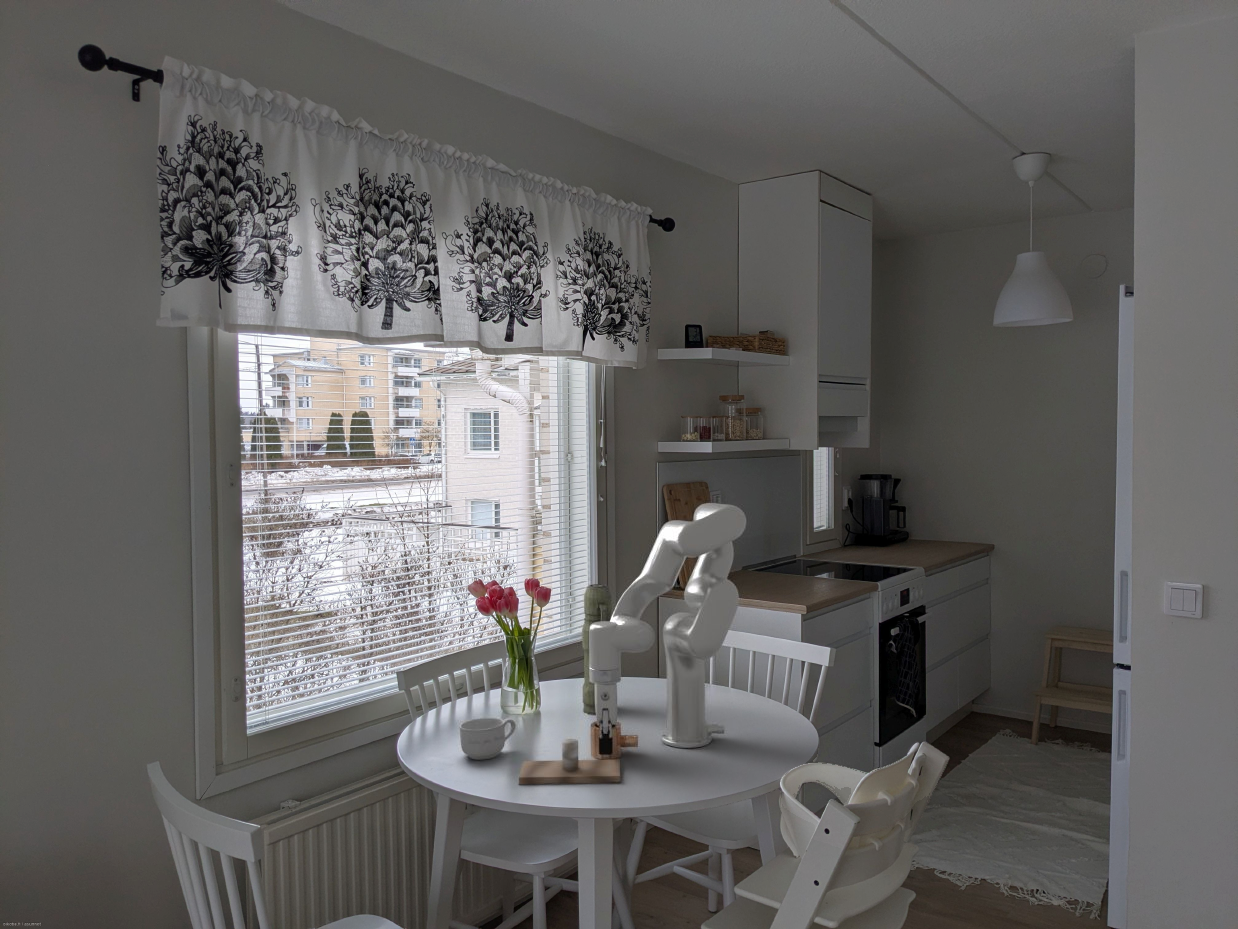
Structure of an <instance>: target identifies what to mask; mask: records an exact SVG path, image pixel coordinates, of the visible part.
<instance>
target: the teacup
mask: <svg viewBox="0 0 1238 929" xmlns="http://www.w3.org/2000/svg"><path fill="white" fill-rule="evenodd" d="M508 723H509V724H510V729H508V731H507V733H506V732H505V728H506V726H507V724H508ZM515 730H516V722H515V720H514V719H512V718H510V717H509V718H504V719H502V718H500V717H499V718H498V717H491V716H490V717H478V718H472V719H469V720H465V721H464V722H462V723H460V724H459V733H460V734H459V736H460V746H461V751H462V752H463V754H464V755H466V756H467V757H469V758H470V759H472V760H477V761H478V760H479V761H480V760H481V761H482V760H489V759H493V758H496V757H497V756H498V755H499V753H501V751H502V750H503V749H504V748H505V745H506V744H505V743H506V742H507V740H508V739H509V738H511V736H512V735H513V734H514V733H515Z"/></svg>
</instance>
